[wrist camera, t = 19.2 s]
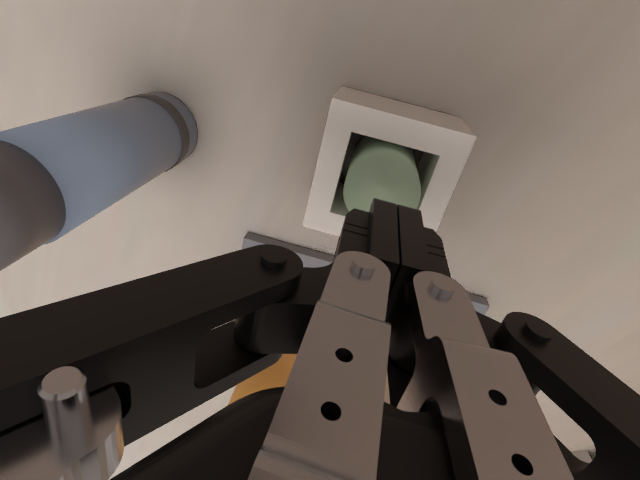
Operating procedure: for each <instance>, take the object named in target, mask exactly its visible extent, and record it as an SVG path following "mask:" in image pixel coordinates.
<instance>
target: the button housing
mask: <svg viewBox="0 0 640 480" xmlns="http://www.w3.org/2000/svg"><path fill="white" fill-rule="evenodd" d="M352 132H354V133H358V134H361V135H365V136H369V137H372V138H376V139H380V140H384V141H387V142H391V143H395V144H398V145H402V146H406V147H410V148H413V149H417V150H421V151H424V153H423V155H422V158H421V161H420V163H419V166H418V169H417V171H418V176H419V180H420V184H421V198H420V202H419V205H418V207H417V209H418V210H421V214H422V220H423V225H424V227H426V228H430V229H433V230H434V231H435V232H436V231H437V229H438V227H439V224H440V222H441V220H442V217H443V215H444V213H445V210H446V208H447V206H448V203H449V201H450V199H451V196H452V194H453V192H454V189H455V187H456V185H457V182H458V180H459V178H460V175H461V173H462V171H463V168H464V166H465V164H466V161H467V159H468V157H469V155H470V152H471V150H472V148H473V145H474V143H475V141H476V138H477V136H476V135H475V134H474V132H473V131H472V130H471V129H470V128H469V127H468V126H467V124H466V123H465V122H464V121H463V120H462V119H461V118H460V117H457V116H453V115H449V114H445V113H442V112H438V111H434V110H430V109H427V108H423V107H419V106H415V105H412V104H408V103H404V102H400V101H397V100H393V99H389V98H385V97H382V96H378V95H374V94H370V93H367V92H363V91H359V90H355V89H352V88H348V87H344V86H341V87H340V89H339V90H338V91H337V92H336V94H335V95H334V96H333V97H332V100H331V104H330V108H329V113H328V117H327V121H326V126H325V130H324V134H323V139H322V143H321V147H320V152H319V156H318V160H317V165H316V169H315V173H314V177H313V182H312V186H311V190H310V195H309V199H308V203H307V208H306V212H305V216H304V221H303V225H302V227H306V228H310V229H313V230H317V231H320V232H324V233H328V234H331V235H335V236H339V237H340V234H341V230H342V227H343V223H344V220H345V216H346V214H347V213H348V212H349V211H348V209H347V207H346V204H345V202H344V196H343V189H344V184H341V183H339V181H340V177H341V173H342V170H343V166H344V162H345V159H346V155H347V151H348V147H349V144H350V140H351V136H352Z"/></svg>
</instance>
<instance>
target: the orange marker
mask: <svg viewBox="0 0 640 480" xmlns="http://www.w3.org/2000/svg"><path fill="white" fill-rule="evenodd" d="M296 356H297V354H282V356H281V358H280V359H279V360H278V361H277V362H276V363H275V364H273V365H272V366H270V367H268V368H266V369H264V370H263V371H261V372H259V373H257V374H255V375H253V376H252V377H250V378H248V379H246V380H244V381H243V382H241V383H239V384H237V385H236V387H235V389H234V392H233V394H232V396H231V399H230V401H229V404H231V403H233V402H235V401H236V400H238V399H240V398H243V397H245V396H247V395H249V394H251V393H255V392H258V391H261V390H264V389H269V388H275V387H285V385H286V383H287V380H288V377H289V375H290V372H291V369H292V367H293V364H294V362H295V359H296ZM229 404H228V405H229Z"/></svg>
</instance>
